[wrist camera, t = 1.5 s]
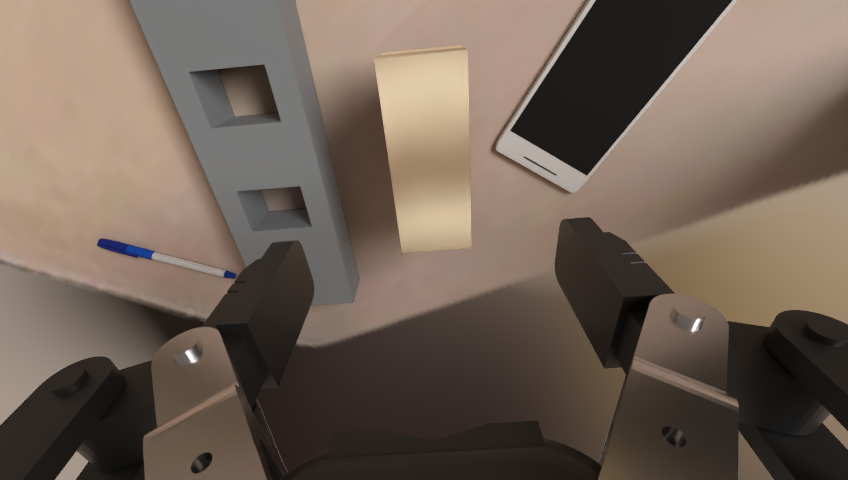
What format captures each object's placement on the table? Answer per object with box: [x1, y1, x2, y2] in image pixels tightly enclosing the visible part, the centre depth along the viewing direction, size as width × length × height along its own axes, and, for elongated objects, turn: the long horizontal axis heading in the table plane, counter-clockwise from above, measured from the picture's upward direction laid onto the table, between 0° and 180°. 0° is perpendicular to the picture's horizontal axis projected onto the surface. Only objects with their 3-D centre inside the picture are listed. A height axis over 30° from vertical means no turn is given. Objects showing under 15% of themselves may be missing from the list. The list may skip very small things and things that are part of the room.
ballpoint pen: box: [97, 239, 236, 279], centre depth 29 cm, size 10×1×1 cm, turn 72°
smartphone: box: [495, 0, 737, 193], centre depth 21 cm, size 7×16×1 cm, turn 152°
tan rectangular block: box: [374, 45, 471, 253], centre depth 20 cm, size 10×4×7 cm, turn 5°
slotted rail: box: [129, 0, 359, 306], centre depth 23 cm, size 24×7×3 cm, turn 5°
